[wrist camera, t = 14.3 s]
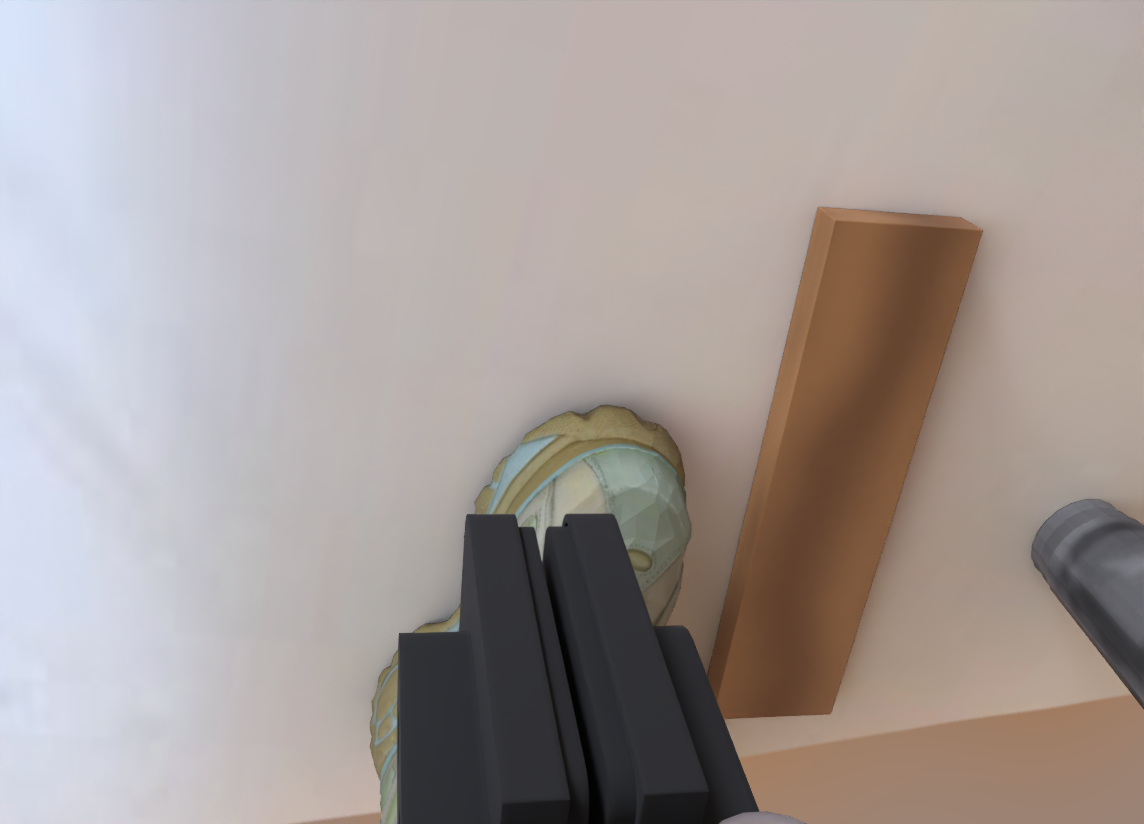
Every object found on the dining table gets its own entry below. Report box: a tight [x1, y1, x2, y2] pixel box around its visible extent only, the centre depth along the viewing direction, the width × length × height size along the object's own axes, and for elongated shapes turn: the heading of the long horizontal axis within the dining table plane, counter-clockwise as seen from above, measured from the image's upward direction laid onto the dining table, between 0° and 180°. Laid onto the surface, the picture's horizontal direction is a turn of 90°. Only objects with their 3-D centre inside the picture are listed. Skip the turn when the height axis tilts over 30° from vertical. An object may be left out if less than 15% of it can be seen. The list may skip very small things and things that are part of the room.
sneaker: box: [370, 405, 691, 824], centre depth 37 cm, size 11×19×15 cm, turn 135°
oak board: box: [707, 207, 983, 719], centre depth 43 cm, size 6×24×2 cm, turn 173°
